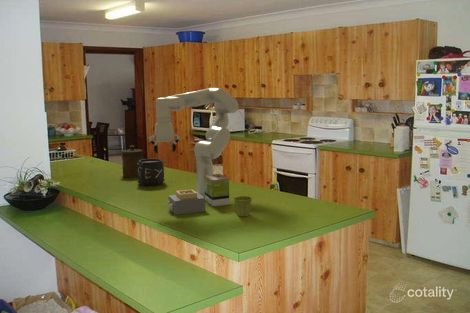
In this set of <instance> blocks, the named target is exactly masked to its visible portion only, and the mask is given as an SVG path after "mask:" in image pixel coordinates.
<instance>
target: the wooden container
mask: <svg viewBox="0 0 470 313" xmlns="http://www.w3.org/2000/svg"><path fill="white" fill-rule="evenodd" d="M143 152H144V151H143V149H139V148H137V149H136V148H135V145H133V144H131V145H129V149H123V150H121V159H122V161H121V164H122V167H121V168H122V177H123V178H138V175H137V167H138V166H137V163H138V161H139V160H143V159H144V156H143V154H144V153H143Z"/></svg>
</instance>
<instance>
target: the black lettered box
mask: <svg viewBox="0 0 470 313" xmlns="http://www.w3.org/2000/svg"><path fill="white" fill-rule="evenodd" d="M164 164H165V163H164V161H163V159H161V158H143V160H139V161H138V163H137V166H138V167H137V175H138V177H137V184H138V185H139V186H142V187H149V188H150V187H158V186H159V187H160V186H162V185H164V183H165V166H164Z"/></svg>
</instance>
